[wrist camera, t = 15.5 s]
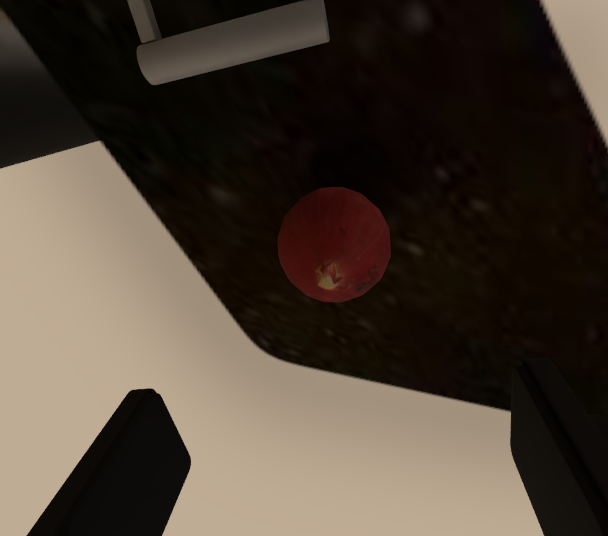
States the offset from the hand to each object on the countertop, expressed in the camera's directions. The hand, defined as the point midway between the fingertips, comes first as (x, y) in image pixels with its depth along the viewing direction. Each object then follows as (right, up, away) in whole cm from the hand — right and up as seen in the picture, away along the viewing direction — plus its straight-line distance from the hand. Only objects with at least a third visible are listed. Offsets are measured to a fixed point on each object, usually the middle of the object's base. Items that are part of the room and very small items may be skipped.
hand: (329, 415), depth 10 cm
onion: (+1, +7, +13) cm, 15 cm away
